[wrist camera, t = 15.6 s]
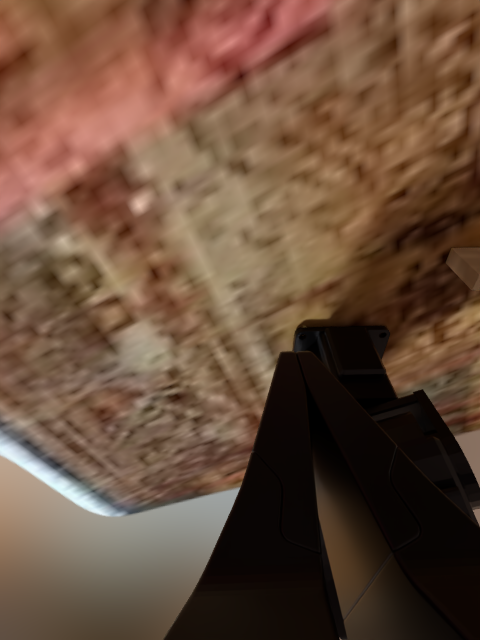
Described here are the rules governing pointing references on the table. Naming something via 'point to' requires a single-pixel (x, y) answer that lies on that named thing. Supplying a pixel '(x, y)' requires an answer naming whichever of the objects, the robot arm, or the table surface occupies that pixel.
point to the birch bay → (466, 265)
